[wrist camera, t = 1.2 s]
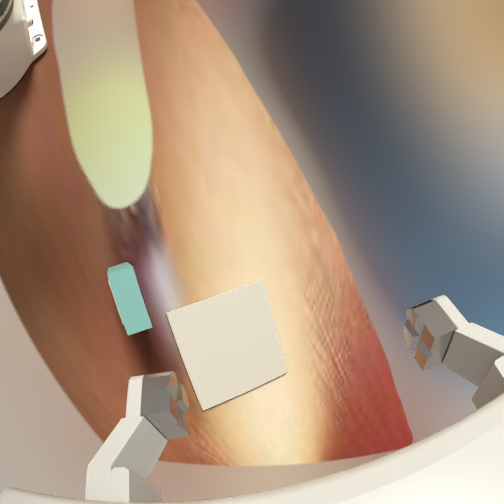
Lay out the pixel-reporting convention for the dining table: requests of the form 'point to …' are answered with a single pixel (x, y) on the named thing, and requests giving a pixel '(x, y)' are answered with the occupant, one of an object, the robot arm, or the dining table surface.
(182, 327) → the mat
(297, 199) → the dining table surface
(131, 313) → the slab
